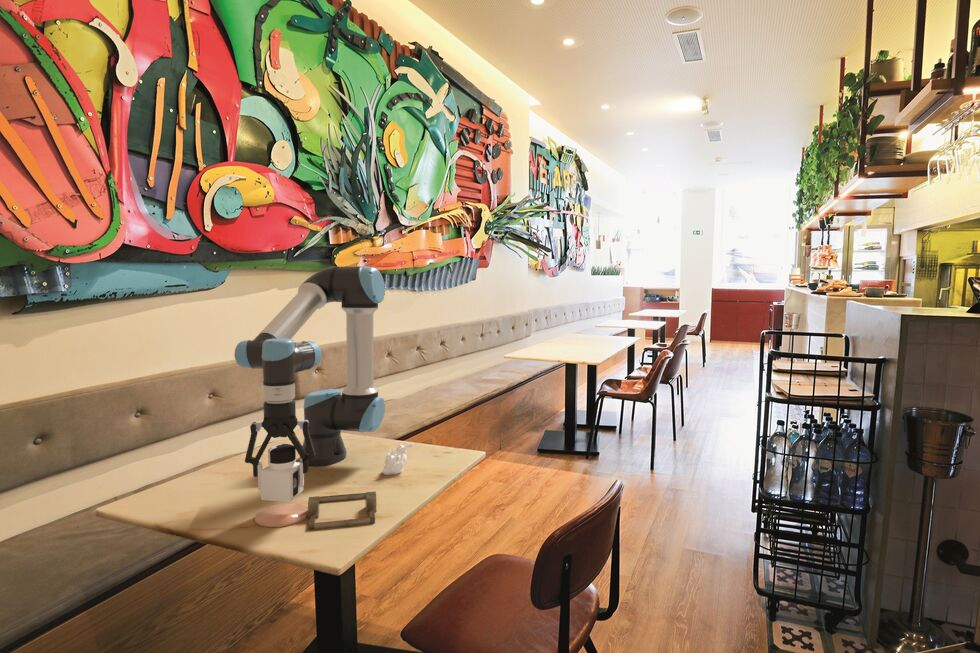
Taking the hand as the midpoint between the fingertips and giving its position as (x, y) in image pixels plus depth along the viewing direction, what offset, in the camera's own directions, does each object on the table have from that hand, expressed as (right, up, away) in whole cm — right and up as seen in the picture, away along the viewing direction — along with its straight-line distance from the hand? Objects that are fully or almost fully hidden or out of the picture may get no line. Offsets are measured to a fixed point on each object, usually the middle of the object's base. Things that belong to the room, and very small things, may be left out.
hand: (281, 487), depth 141 cm
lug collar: (+15, -8, +4) cm, 17 cm away
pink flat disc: (0, -8, +1) cm, 8 cm away
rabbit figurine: (+25, -5, +33) cm, 42 cm away
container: (0, -3, +1) cm, 3 cm away
